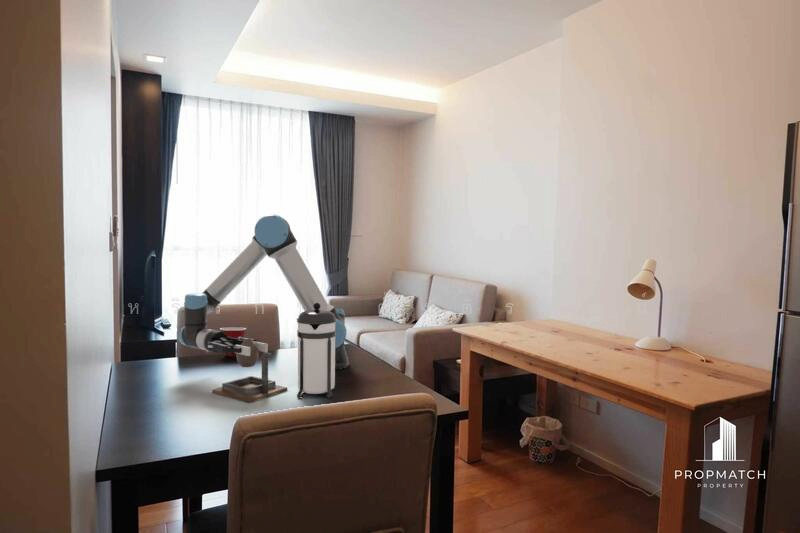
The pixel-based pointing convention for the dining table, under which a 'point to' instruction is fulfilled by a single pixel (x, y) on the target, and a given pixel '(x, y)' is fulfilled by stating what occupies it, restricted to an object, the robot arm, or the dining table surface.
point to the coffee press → (316, 352)
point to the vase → (248, 360)
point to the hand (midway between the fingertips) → (258, 349)
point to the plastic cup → (233, 334)
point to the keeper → (251, 386)
